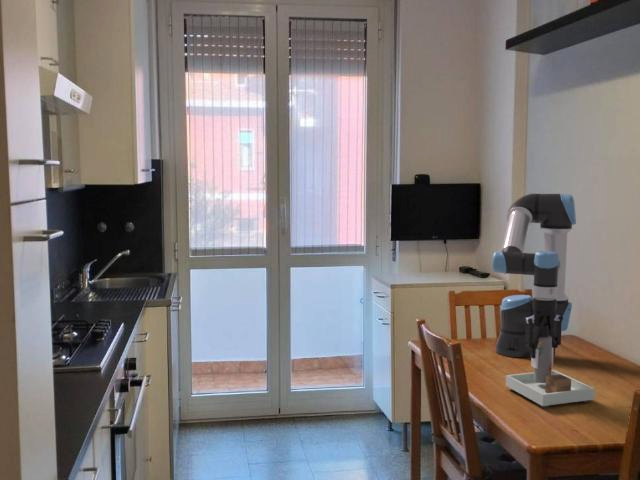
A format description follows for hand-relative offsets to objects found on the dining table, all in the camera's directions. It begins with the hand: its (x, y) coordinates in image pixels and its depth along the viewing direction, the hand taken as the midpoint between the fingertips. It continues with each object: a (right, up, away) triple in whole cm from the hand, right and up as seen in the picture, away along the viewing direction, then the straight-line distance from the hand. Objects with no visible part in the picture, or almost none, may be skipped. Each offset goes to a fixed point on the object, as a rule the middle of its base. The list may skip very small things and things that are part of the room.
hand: (541, 366), depth 218 cm
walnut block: (+3, -8, -7) cm, 11 cm away
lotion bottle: (+1, -5, +1) cm, 5 cm away
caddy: (+1, -9, -3) cm, 10 cm away
